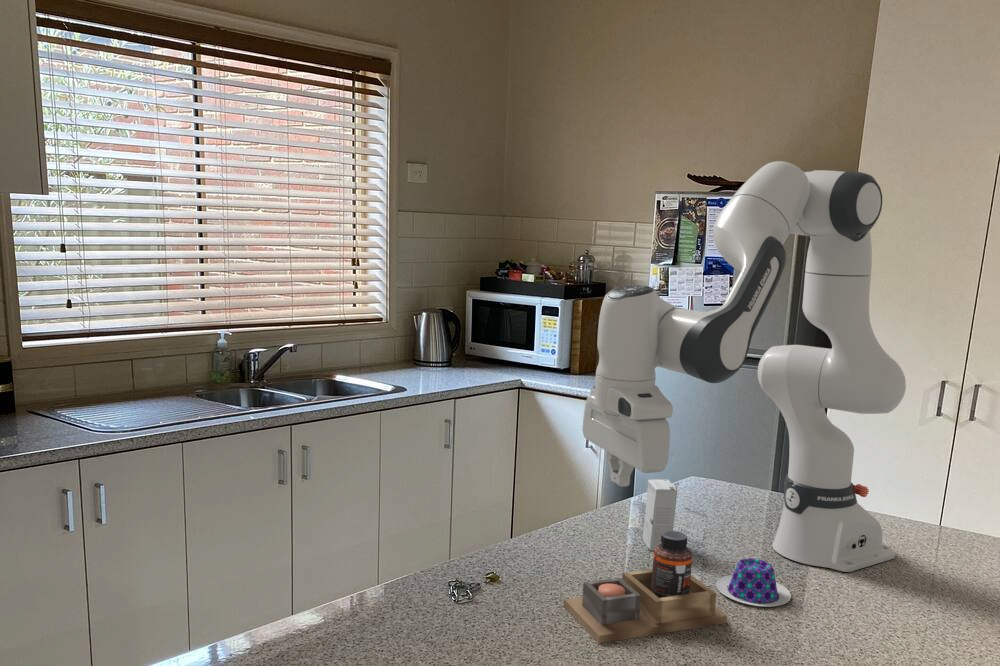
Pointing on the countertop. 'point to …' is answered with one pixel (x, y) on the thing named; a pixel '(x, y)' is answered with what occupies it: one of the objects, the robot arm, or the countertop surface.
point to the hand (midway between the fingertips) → (619, 483)
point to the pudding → (754, 584)
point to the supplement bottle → (671, 565)
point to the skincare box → (659, 511)
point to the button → (611, 590)
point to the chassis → (642, 609)
